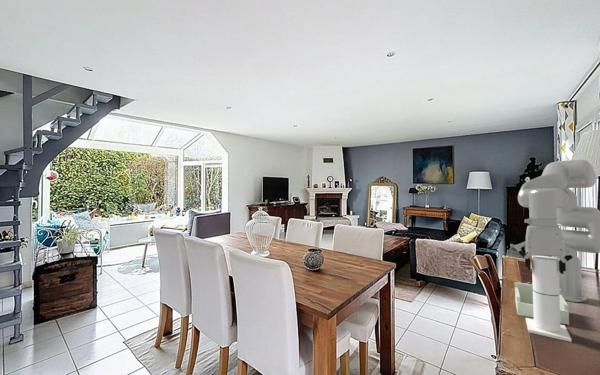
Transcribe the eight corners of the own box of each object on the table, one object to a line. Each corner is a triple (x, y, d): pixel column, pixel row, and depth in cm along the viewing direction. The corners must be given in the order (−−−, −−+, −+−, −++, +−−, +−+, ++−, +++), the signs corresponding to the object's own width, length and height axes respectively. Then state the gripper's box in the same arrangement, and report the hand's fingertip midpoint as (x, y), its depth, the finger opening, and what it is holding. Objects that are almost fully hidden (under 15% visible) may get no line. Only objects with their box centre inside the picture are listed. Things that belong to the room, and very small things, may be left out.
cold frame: (515, 302, 121) (514, 282, 121) (561, 310, 112) (560, 288, 112) (517, 314, 109) (516, 292, 109) (569, 325, 100) (568, 300, 100)
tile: (525, 320, 104) (525, 317, 104) (564, 328, 98) (564, 325, 98) (528, 332, 96) (528, 329, 96) (571, 342, 89) (571, 339, 89)
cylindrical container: (535, 328, 96) (533, 258, 97) (532, 320, 102) (530, 254, 102) (562, 334, 92) (560, 261, 93) (558, 325, 98) (555, 257, 98)
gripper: (513, 222, 99) (514, 269, 99) (579, 225, 89) (581, 278, 89) (512, 220, 106) (513, 265, 105) (574, 223, 95) (576, 272, 95)
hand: (544, 270), depth 97 cm, fingers open, 8 cm apart
